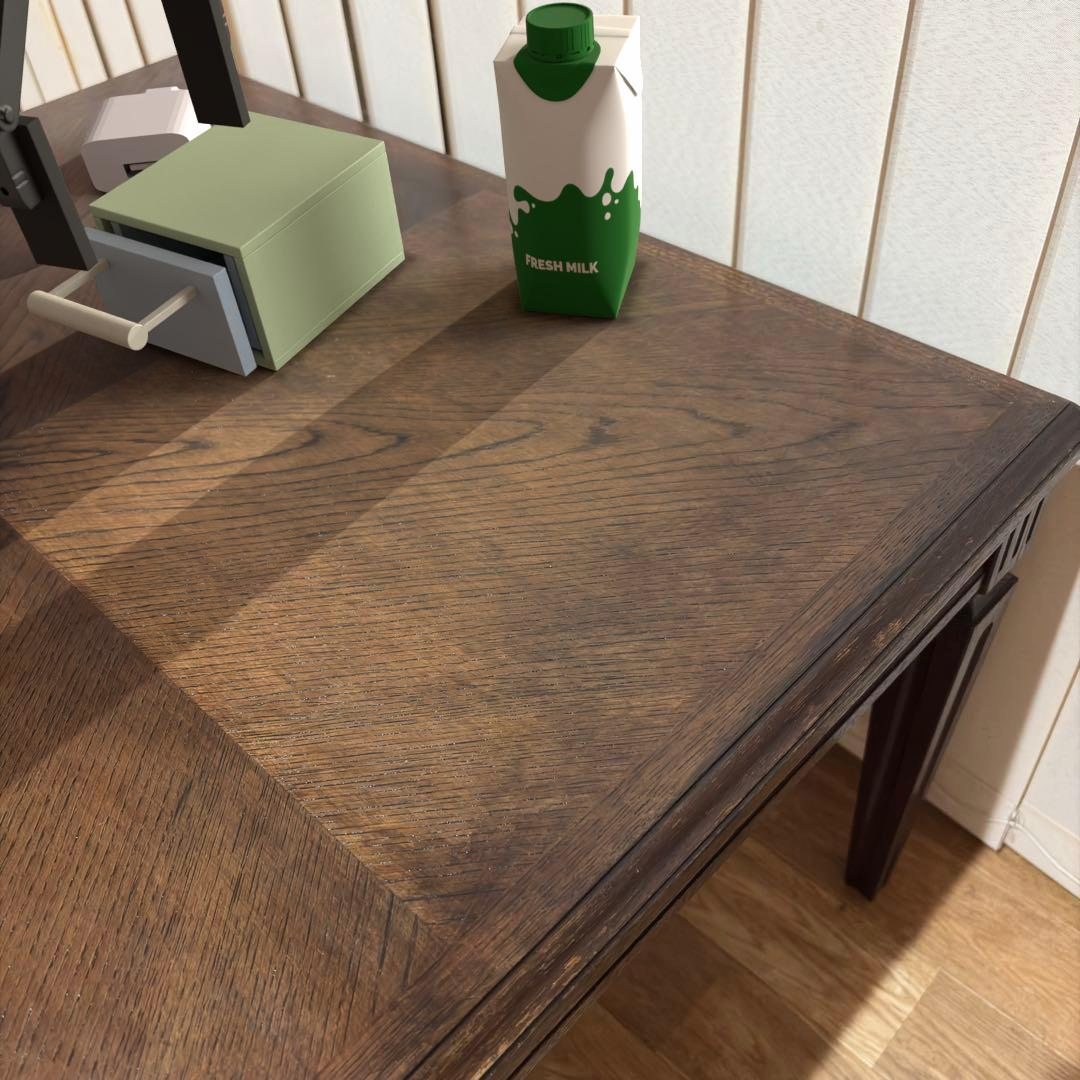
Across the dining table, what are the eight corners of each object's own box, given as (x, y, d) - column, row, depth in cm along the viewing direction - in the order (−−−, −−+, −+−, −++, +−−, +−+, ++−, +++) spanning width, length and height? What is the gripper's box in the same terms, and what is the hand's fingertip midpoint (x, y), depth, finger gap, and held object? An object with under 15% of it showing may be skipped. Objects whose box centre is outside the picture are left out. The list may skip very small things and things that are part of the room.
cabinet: (276, 371, 74) (239, 248, 67) (135, 323, 79) (87, 205, 72) (405, 259, 83) (384, 140, 76) (270, 222, 88) (239, 108, 81)
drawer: (181, 432, 68) (140, 331, 63) (48, 380, 73) (-1, 282, 68) (372, 269, 80) (352, 171, 75) (247, 234, 85) (219, 140, 79)
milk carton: (506, 317, 76) (476, 28, 62) (537, 249, 82) (516, -28, 68) (626, 328, 75) (624, 33, 60) (649, 258, 80) (652, -25, 66)
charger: (221, 109, 104) (202, 183, 93) (126, 119, 104) (97, 195, 93) (207, 59, 100) (186, 131, 90) (109, 69, 100) (76, 143, 90)
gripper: (-268, -338, 27) (60, 351, 42) (231, -449, 43) (336, 81, 58) (-478, -332, 29) (-91, 325, 44) (74, -440, 45) (217, 70, 60)
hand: (152, 187), depth 51 cm, fingers open, 13 cm apart
